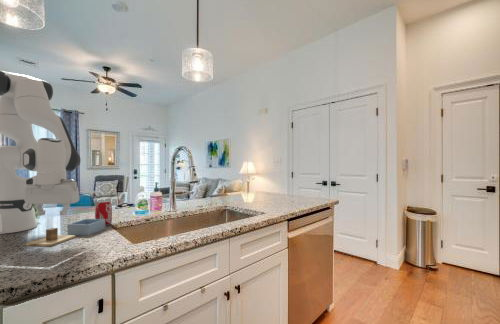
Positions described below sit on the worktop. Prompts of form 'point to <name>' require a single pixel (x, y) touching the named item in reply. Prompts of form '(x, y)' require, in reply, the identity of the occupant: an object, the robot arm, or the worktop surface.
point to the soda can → (104, 211)
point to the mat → (54, 245)
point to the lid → (50, 238)
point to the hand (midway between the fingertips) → (52, 215)
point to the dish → (86, 227)
